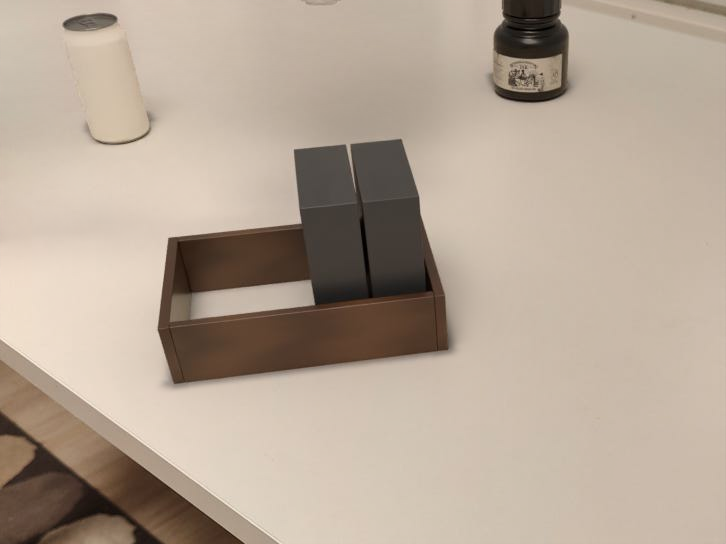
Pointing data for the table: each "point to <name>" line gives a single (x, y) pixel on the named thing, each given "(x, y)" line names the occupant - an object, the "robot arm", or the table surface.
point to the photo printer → (320, 2)
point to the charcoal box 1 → (330, 224)
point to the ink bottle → (530, 50)
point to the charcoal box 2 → (388, 218)
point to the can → (105, 77)
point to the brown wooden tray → (283, 310)
